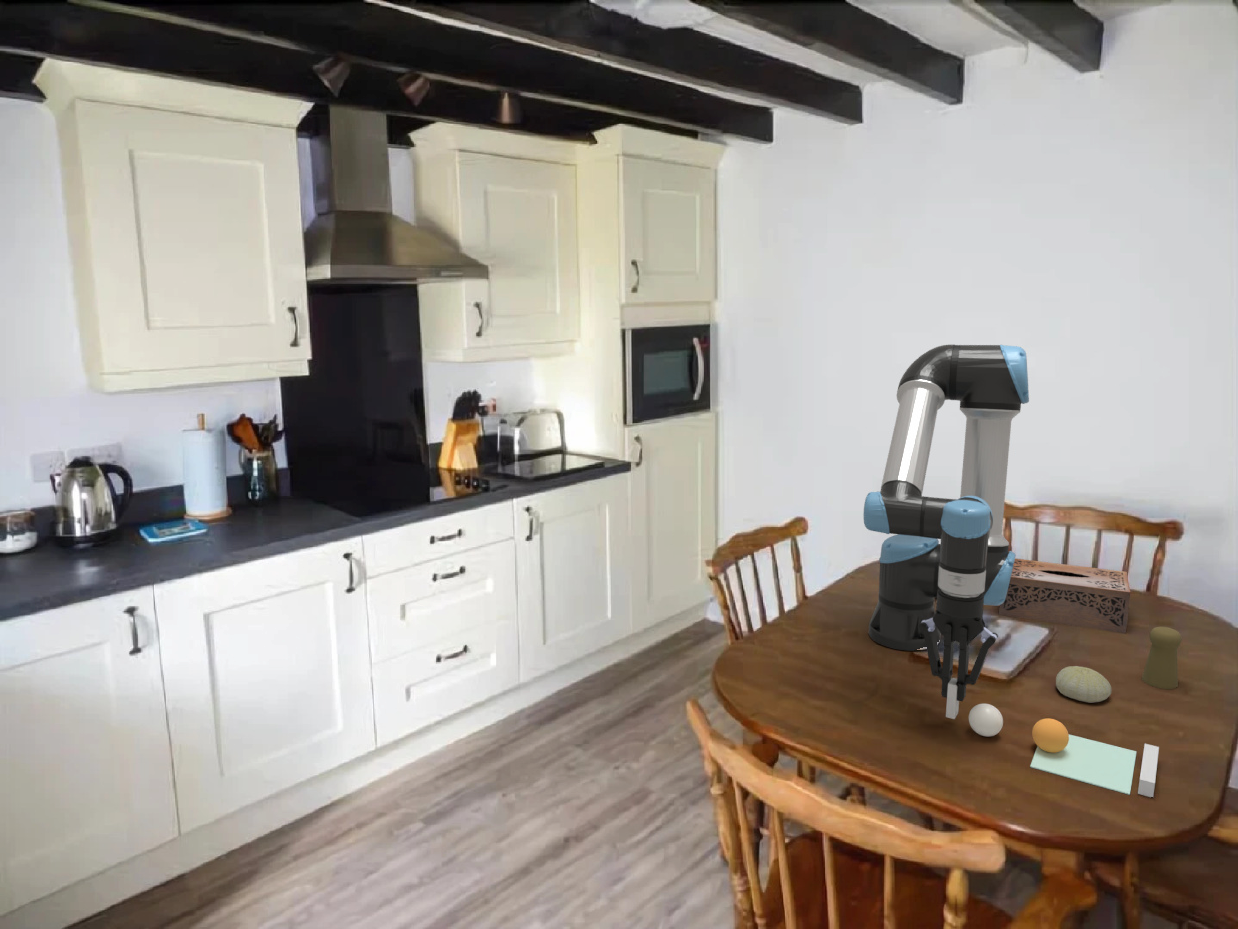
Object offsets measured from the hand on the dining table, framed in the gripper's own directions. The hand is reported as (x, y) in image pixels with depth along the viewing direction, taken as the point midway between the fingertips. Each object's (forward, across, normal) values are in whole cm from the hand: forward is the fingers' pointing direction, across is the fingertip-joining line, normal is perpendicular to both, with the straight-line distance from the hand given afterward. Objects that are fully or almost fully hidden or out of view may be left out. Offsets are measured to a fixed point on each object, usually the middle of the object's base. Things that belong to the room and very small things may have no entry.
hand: (952, 714), depth 150 cm
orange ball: (-1, +16, 0) cm, 16 cm away
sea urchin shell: (+2, +18, +25) cm, 31 cm away
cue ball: (-1, +6, 0) cm, 6 cm away
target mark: (+2, +21, 0) cm, 21 cm away
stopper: (+2, +30, 0) cm, 30 cm away
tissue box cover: (+3, +9, +66) cm, 67 cm away
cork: (+2, +30, +38) cm, 48 cm away
